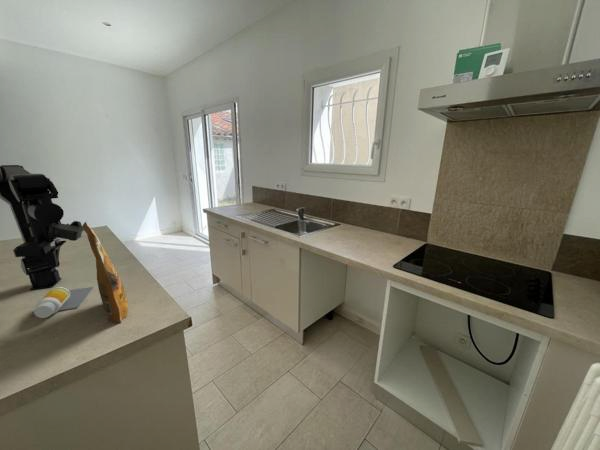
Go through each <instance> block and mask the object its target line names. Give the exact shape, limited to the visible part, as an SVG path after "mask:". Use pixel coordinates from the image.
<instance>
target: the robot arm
mask: <svg viewBox="0 0 600 450" xmlns="http://www.w3.org/2000/svg"><path fill="white" fill-rule="evenodd" d="M57 189H58V188H57V187H56V186H55V184H54V183H53V181H52V180H51V179H50V178H49V177H47V176H46V175H45V174H44V173H31V172H30V171H28V170H26V169H25V167H24V166H23V165H20V164H4V165H3V164H1V165H0V199H1V200H2V201H4V202H5V203H6V204H8V205H9V208H10V211H11V213H12V216H13V219H14V220H15V221H14V222H15V223H16V225H17V229H18V231H19V233H20V236H21V238H22V241H23V243H21V244H19V245H17V246H16V247H14V249H12V252H13V254H14V257H15V258H21V259H20V266H21V270H22V272H23V273H24V274H25V276H28V278H29V281H30V283H31V287H29V291H33V290H41V289H46V288H52V287H55V286H56V285H57V284H58V283H59V282H60V281H61V280H62V277H61V276H60V273H59V270H58V269H57V268H58V267H60V264H61V263H60V260H59V259H60V251H61V248H62V246H64V245H65V244H66V242H67V240H68V241H72V242H73V241H77V240H78V239H80V238H82V233H83V232H85V231H84V229H83V224H82V223H81V221H77V220H73V221H72V222H71V223H62V221H61V220H62V219H63V217H64V213H65V212H64V210H63V208H62V207H61V206H60V205H58V204H57V203H55V202H53V200H52V199H59V196H58V195H59V192H58V190H57ZM61 239H62V240H61Z"/></svg>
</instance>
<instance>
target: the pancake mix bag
mask: <svg viewBox="0 0 600 450" xmlns="http://www.w3.org/2000/svg"><path fill="white" fill-rule="evenodd" d="M82 226H83V229H84V231H83V232H85V234H86V235H87V239H88V242H89V245H90V249H91V250H92V253H93V255H94V257H95V266H96V267H95V268H96V280H97V287H98V288H97V289H98V292H99V295H100V299H101V302H102V305H103V309H104V311H105V313H106V316H107V317H108V321H109V322H111V323H122V320H124V319H125V318H127V316H128V314H129V305H128V299H127V298H128V297H127V294H126V292H127V291H126V289H125V287H124V284H123V281H122V280H121V278H120V275H119V274H118V272H117V270H116V268H115V266H114V264H113V263H112V261H111V259H110V258H109V255H108V254H107V252H106V251H105V249H104V247H103V245H102V244H101V240H100V239H99V238H98V236H97V234H96V233H95V231H94V230H93V229H92V228H91V227H90V226H89V225H88V222H87V221H84V223H83V224H82Z"/></svg>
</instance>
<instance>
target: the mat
mask: <svg viewBox="0 0 600 450" xmlns="http://www.w3.org/2000/svg"><path fill="white" fill-rule="evenodd" d="M93 288H94V286H87V287H81V288H76V289H68V290H69V292H70V297H69V299H68V300H67V301H66V302H65V303H64V305H63V306H62V307H61V308H60V309H59V310H58V311H57V312H56V313H58V312H63V311H69V310H74V309H78V308H79V307H80V306H81V305H82V303H83V302H84V301H85V299H86V298H87V296H88V295H89V294H90V293H91V291H92V290H93ZM34 316H35V317H36V315H35V314H34V311H33V312H32V313H31V314H30V317H34Z"/></svg>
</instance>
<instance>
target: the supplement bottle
mask: <svg viewBox="0 0 600 450" xmlns="http://www.w3.org/2000/svg"><path fill="white" fill-rule="evenodd" d="M69 290H70V289H68V288H65V287H60V286H57V287H54V288H51V289H50V290H49V291H48V292H47V293H46V294H45V295H44V296H43V297H42V298H41V299H40V300H39V301H38V302H37V304H36V306H35V308H34V311H33V312H34V314H35V317H38V318H40V319H45V318H48V317H51V316H52V315H53V314H56V313H58V312H57V311H58V310H59V309H60V308H61V307H62V306H63V305H64V303H65V302H66V301H67V300H68V299H69V297H70V292H69Z"/></svg>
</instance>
